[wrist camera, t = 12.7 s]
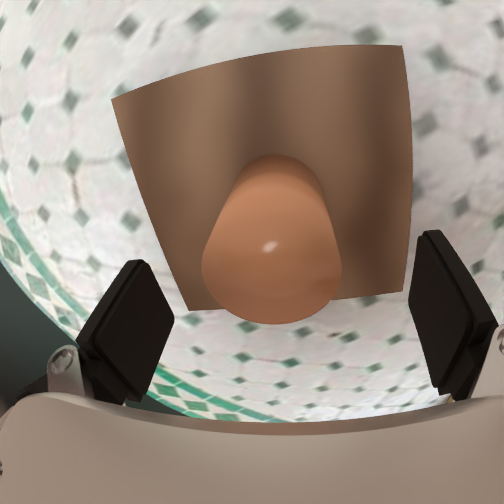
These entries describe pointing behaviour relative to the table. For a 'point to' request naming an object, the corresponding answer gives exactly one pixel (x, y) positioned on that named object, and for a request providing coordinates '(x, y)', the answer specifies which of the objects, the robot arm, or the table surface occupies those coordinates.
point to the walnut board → (279, 153)
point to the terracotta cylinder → (273, 245)
